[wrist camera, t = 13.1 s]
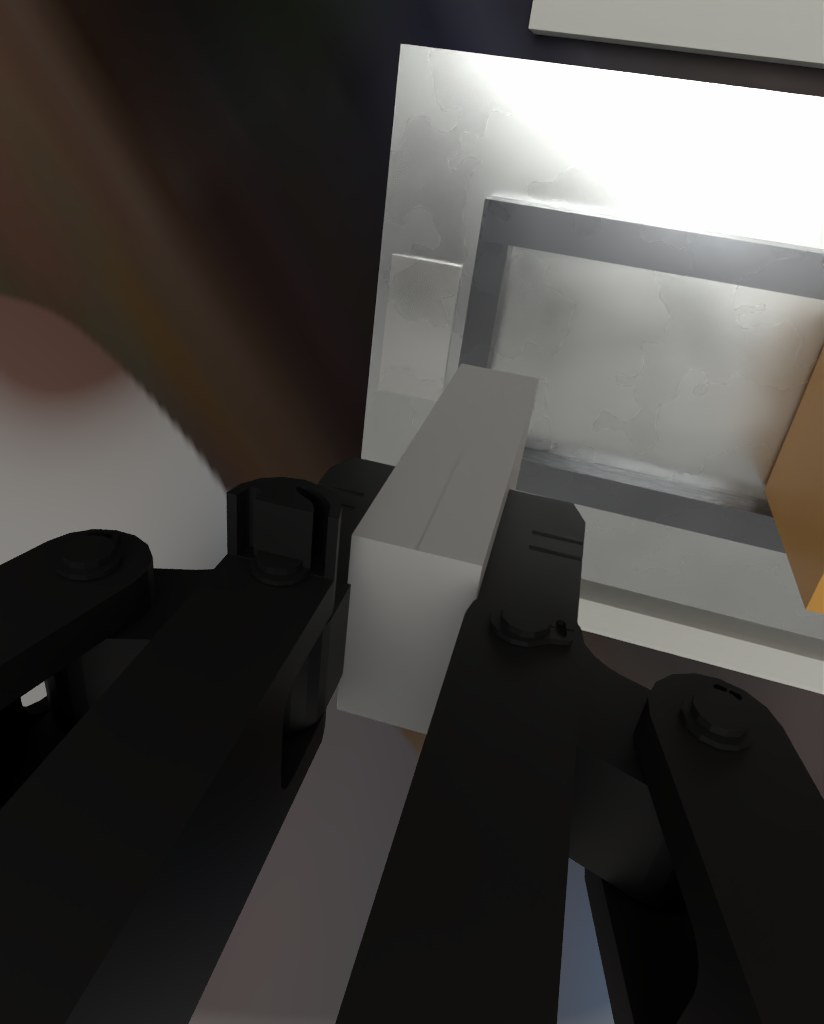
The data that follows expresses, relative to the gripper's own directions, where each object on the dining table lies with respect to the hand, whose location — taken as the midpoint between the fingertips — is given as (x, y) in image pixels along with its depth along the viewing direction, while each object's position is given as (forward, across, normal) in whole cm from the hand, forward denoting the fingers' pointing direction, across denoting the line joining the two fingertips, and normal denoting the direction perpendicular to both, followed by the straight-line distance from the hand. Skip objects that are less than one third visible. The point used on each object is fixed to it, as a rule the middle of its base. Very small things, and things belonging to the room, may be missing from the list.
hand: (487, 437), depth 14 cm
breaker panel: (+9, +5, 0) cm, 11 cm away
